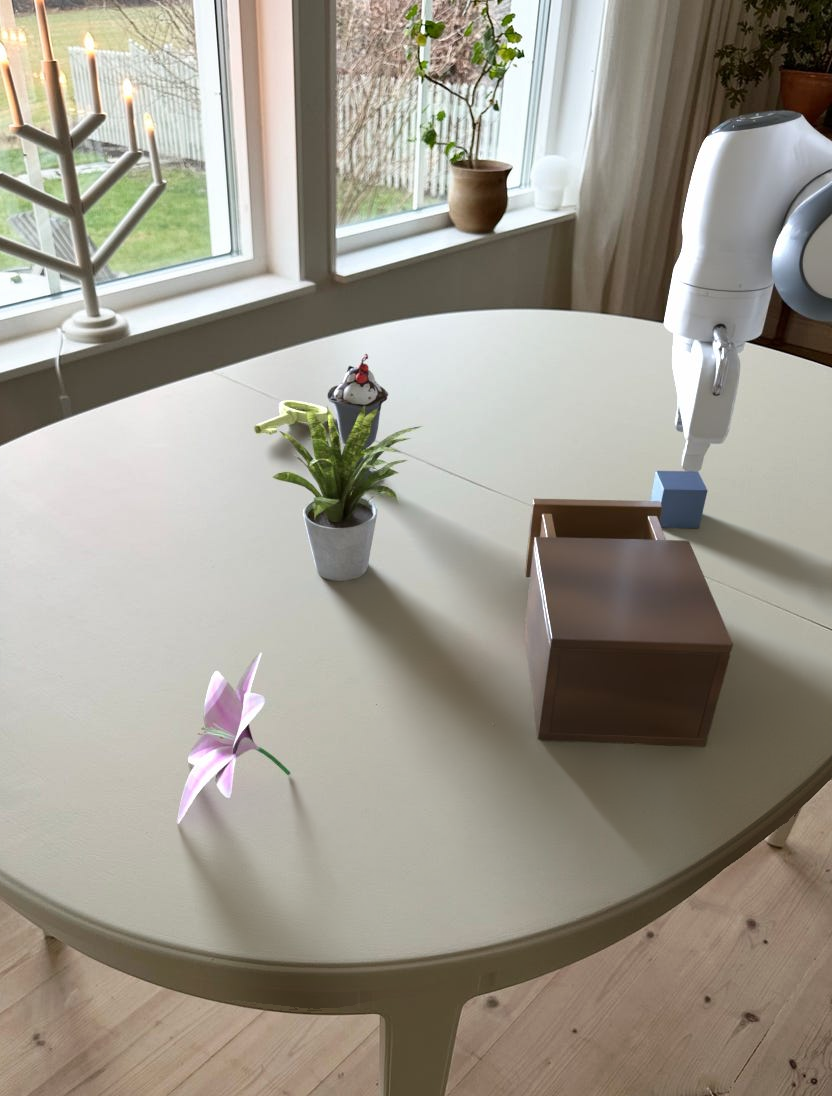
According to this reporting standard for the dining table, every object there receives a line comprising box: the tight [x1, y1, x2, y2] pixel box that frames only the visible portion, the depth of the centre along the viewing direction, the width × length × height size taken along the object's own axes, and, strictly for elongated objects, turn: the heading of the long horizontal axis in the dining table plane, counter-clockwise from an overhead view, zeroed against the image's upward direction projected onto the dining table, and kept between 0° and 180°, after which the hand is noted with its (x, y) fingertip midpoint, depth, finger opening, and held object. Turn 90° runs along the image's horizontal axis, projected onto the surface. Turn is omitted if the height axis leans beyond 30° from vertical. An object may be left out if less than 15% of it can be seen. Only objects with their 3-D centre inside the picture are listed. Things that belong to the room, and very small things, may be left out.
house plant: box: [270, 405, 423, 582], centre depth 88 cm, size 14×14×16 cm
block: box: [649, 470, 709, 529], centre depth 100 cm, size 4×4×4 cm
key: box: [253, 400, 328, 436], centre depth 122 cm, size 7×12×2 cm, turn 164°
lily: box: [176, 652, 291, 825], centre depth 68 cm, size 12×12×10 cm
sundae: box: [326, 353, 389, 486], centre depth 106 cm, size 7×7×15 cm
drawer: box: [524, 498, 667, 579], centre depth 85 cm, size 18×11×8 cm, turn 176°
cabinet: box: [523, 537, 734, 747], centre depth 76 cm, size 15×13×10 cm
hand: (686, 448), depth 97 cm, fingers open, 8 cm apart
